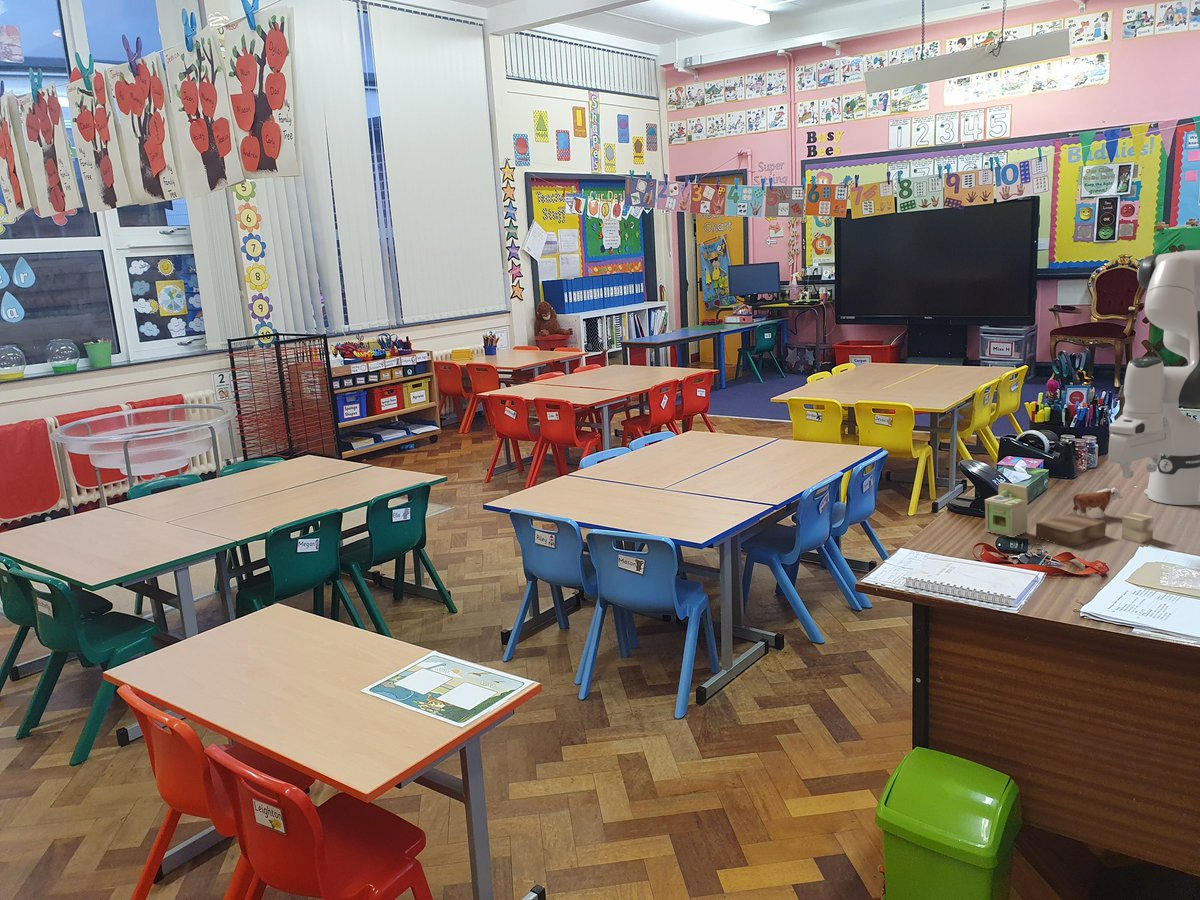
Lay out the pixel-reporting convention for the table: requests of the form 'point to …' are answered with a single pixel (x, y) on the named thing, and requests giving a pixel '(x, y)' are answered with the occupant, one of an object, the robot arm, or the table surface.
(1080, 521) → the base block
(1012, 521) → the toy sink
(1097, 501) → the bull figurine
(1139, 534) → the maple block
